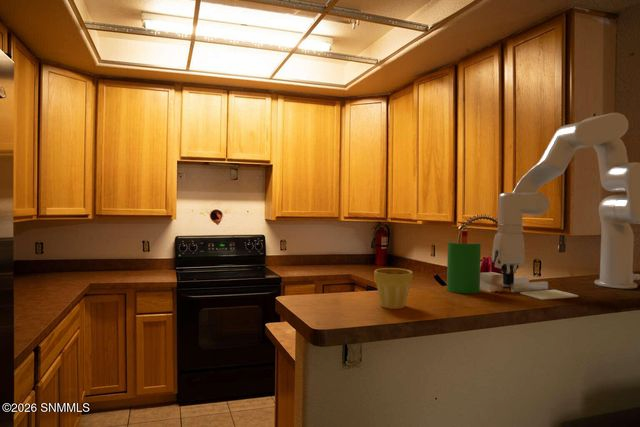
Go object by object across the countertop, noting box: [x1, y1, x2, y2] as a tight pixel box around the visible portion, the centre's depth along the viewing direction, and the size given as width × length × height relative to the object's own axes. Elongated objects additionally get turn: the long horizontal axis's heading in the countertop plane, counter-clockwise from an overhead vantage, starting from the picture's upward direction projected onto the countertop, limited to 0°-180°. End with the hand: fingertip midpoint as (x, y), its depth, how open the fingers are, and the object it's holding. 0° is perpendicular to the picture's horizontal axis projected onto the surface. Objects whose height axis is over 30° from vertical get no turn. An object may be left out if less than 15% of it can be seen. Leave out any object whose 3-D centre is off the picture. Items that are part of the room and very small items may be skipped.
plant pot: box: [373, 267, 414, 310], centre depth 127 cm, size 10×10×10 cm
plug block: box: [480, 271, 504, 293], centre depth 151 cm, size 5×5×6 cm
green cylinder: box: [446, 229, 482, 295], centre depth 149 cm, size 10×9×20 cm
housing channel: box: [503, 276, 549, 293], centre depth 155 cm, size 14×9×2 cm
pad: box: [519, 289, 579, 301], centre depth 144 cm, size 14×9×1 cm, turn 109°
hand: (508, 284), depth 154 cm, fingers closed
